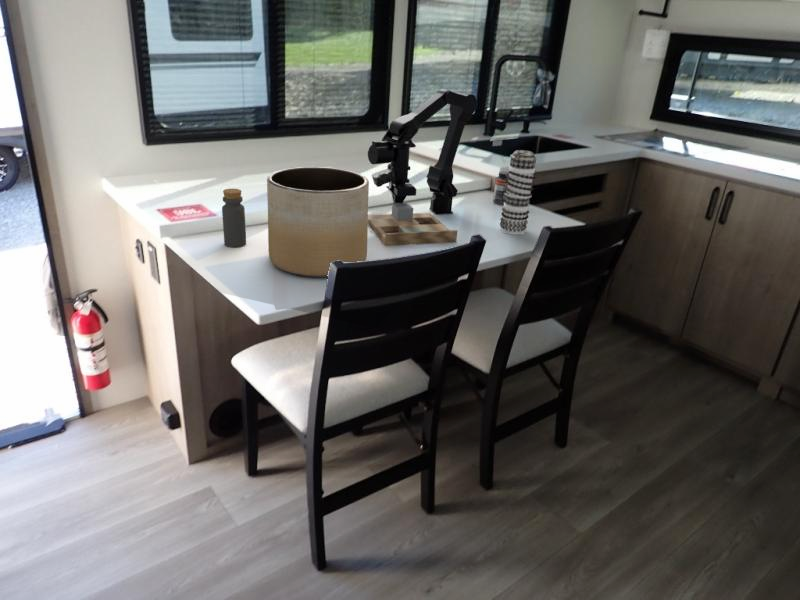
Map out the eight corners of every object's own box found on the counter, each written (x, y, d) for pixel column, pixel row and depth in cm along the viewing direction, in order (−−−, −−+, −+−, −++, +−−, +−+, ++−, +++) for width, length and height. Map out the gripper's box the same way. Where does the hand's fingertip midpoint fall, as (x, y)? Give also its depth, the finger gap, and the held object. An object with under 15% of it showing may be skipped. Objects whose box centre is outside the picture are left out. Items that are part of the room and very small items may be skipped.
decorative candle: (531, 235, 185) (544, 155, 174) (503, 235, 183) (514, 154, 173) (521, 226, 193) (533, 149, 182) (494, 225, 192) (505, 148, 181)
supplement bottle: (500, 199, 221) (504, 169, 216) (512, 203, 217) (516, 173, 212) (489, 201, 217) (493, 171, 212) (501, 206, 213) (505, 175, 208)
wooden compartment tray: (429, 218, 194) (430, 208, 192) (456, 242, 175) (457, 230, 173) (365, 221, 187) (365, 210, 186) (385, 246, 168) (386, 234, 166)
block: (406, 214, 190) (407, 202, 188) (412, 220, 185) (413, 208, 183) (391, 215, 188) (392, 203, 186) (397, 221, 183) (398, 208, 181)
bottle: (226, 240, 164) (223, 187, 158) (248, 240, 165) (245, 188, 158) (222, 247, 159) (218, 193, 153) (244, 248, 160) (241, 194, 153)
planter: (299, 238, 169) (298, 162, 160) (380, 254, 162) (384, 175, 152) (249, 268, 147) (245, 181, 138) (341, 288, 140) (343, 198, 131)
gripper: (367, 155, 190) (365, 202, 196) (383, 169, 174) (380, 219, 180) (399, 155, 193) (397, 201, 200) (418, 168, 177) (414, 218, 184)
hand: (396, 210), depth 191 cm, fingers closed
